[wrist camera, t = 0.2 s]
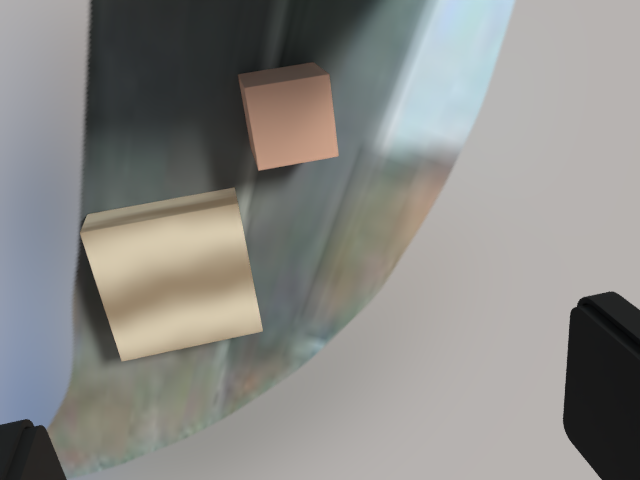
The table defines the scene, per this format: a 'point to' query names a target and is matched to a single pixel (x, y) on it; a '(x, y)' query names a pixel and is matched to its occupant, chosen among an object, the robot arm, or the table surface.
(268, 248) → the table surface
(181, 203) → the base
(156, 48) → the table surface
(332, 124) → the cube
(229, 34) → the table surface
